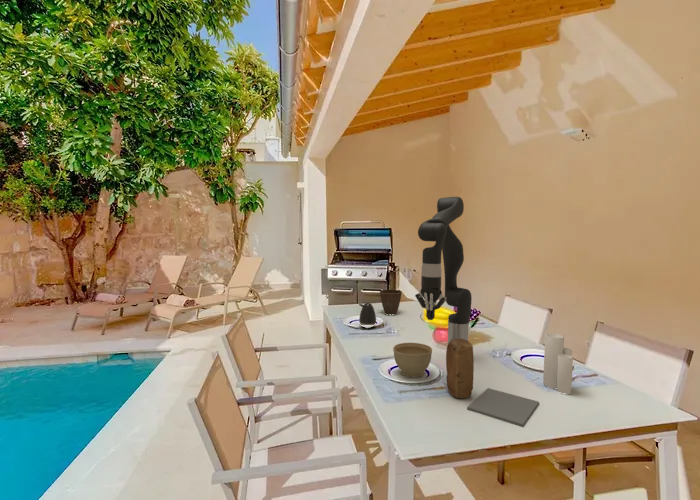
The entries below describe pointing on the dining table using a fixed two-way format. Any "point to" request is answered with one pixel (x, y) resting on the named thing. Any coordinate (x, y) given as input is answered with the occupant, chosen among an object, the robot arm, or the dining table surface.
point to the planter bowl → (412, 358)
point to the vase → (557, 364)
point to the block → (460, 368)
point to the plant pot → (390, 300)
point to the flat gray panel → (504, 406)
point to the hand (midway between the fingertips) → (430, 319)
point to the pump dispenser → (367, 314)
